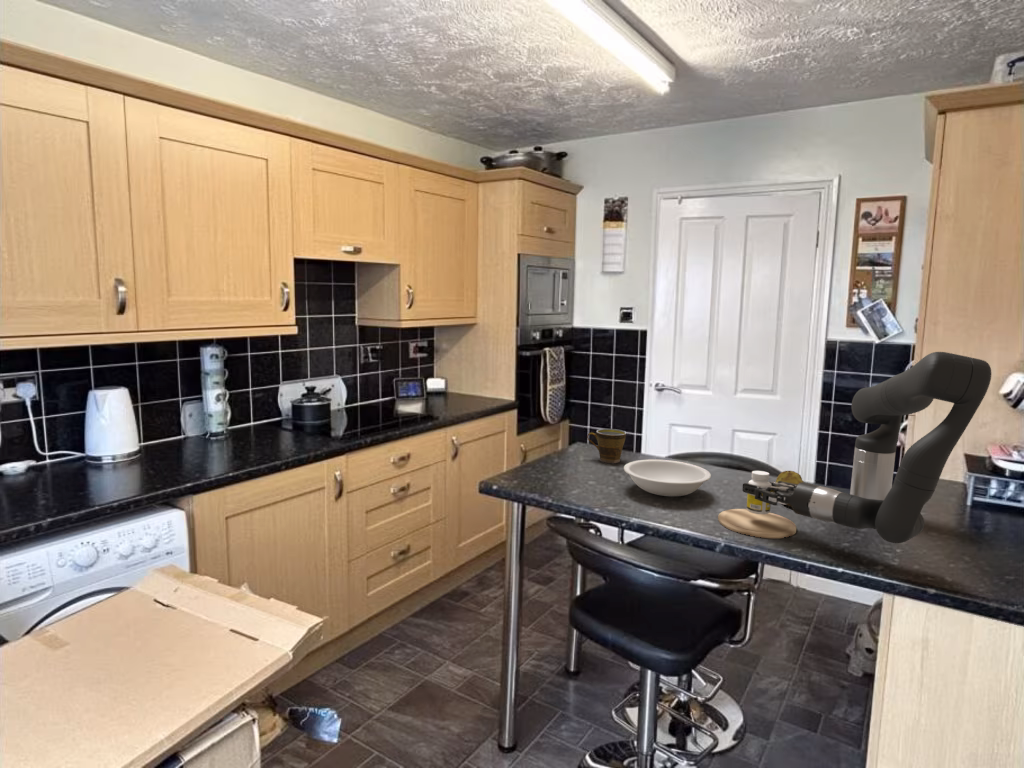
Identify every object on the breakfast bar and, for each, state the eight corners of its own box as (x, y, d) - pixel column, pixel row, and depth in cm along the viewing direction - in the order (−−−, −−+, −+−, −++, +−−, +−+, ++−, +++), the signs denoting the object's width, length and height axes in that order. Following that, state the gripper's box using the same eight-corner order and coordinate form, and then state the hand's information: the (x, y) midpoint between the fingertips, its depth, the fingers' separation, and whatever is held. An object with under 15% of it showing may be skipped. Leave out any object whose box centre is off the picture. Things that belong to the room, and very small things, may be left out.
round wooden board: (742, 507, 165) (743, 504, 165) (809, 527, 151) (810, 524, 151) (703, 521, 154) (703, 517, 154) (772, 544, 140) (772, 540, 140)
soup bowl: (616, 499, 169) (617, 476, 168) (629, 476, 191) (630, 456, 190) (708, 511, 161) (710, 487, 160) (710, 486, 184) (711, 464, 183)
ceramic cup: (624, 457, 214) (625, 429, 212) (625, 465, 204) (627, 435, 203) (586, 455, 215) (587, 427, 214) (585, 463, 206) (587, 433, 204)
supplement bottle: (764, 508, 155) (766, 470, 153) (773, 515, 149) (776, 475, 148) (742, 507, 154) (745, 469, 153) (751, 515, 149) (754, 475, 148)
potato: (768, 505, 167) (771, 476, 166) (776, 493, 178) (779, 466, 177) (802, 511, 163) (805, 482, 162) (808, 498, 174) (810, 471, 173)
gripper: (834, 481, 144) (765, 466, 157) (805, 492, 135) (734, 474, 148) (831, 512, 145) (763, 494, 158) (802, 525, 136) (732, 505, 149)
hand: (750, 485), depth 153 cm, fingers closed on supplement bottle, 5 cm apart
